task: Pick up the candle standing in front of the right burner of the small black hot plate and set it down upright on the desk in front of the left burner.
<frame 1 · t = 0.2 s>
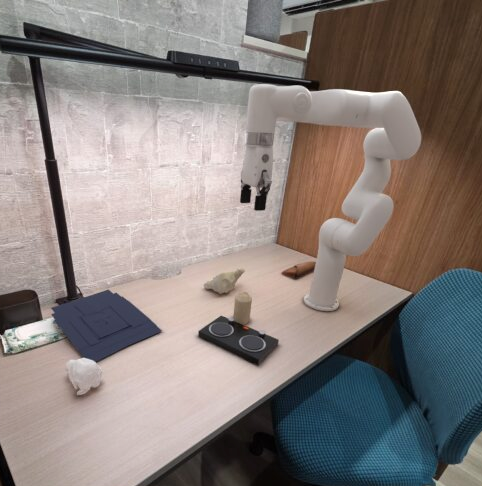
hand: (251, 206, 92), 37 cm above the table, tool pointing down, fingers open, 9 cm apart
candle: (241, 320, 107), on the table
hot plate: (237, 341, 96), on the table
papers: (104, 326, 101), on the table
crumpled paper: (82, 383, 78), on the table
sunglasses case: (299, 272, 145), on the table
cream lumpy piece: (225, 289, 127), on the table
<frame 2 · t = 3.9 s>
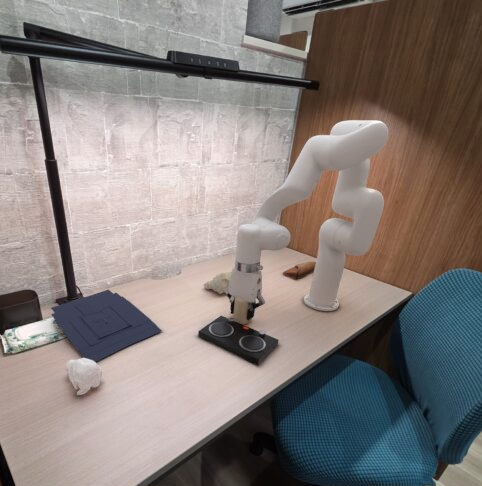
hand: (241, 315, 105), 2 cm above the table, tool pointing down, fingers closed on candle, 5 cm apart
candle: (241, 320, 107), on the table, touching gripper
everything else where it was.
when the fingers open (2 cm above the table, at t = 10.2 s): candle stays where it is, on the table.
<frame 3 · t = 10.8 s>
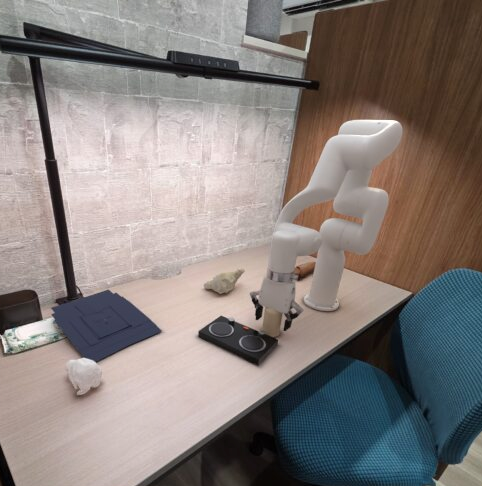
hand: (272, 323, 99), 3 cm above the table, tool pointing down, fingers open, 9 cm apart
candle: (270, 332, 101), on the table
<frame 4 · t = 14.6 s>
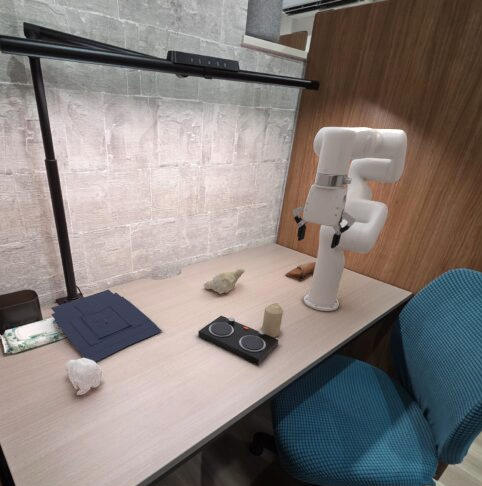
hand: (316, 243, 91), 28 cm above the table, tool pointing down, fingers open, 9 cm apart
at the end: candle inside the target area on the table beside the hot plate (0.8 cm from its centre), on the table; candle tilted 0°; the gripper is holding nothing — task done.
